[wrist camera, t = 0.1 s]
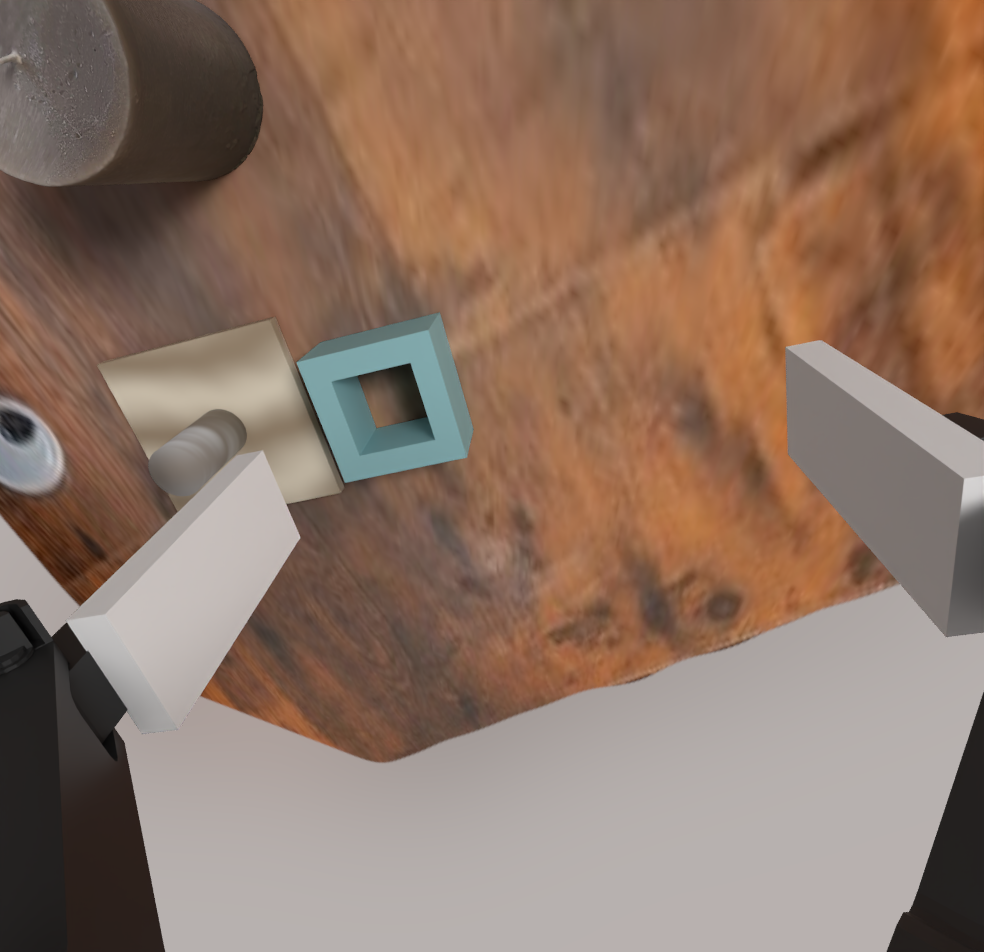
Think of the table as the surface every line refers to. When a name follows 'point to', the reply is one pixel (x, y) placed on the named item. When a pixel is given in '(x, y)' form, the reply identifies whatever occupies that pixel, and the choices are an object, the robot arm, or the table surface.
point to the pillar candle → (123, 92)
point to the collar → (350, 417)
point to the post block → (223, 411)
